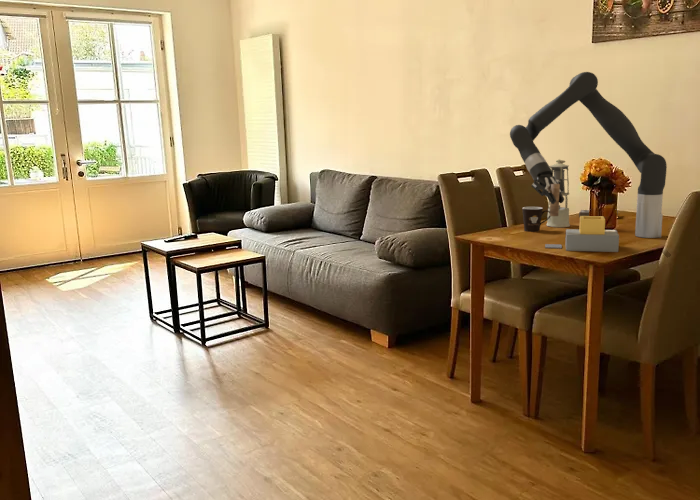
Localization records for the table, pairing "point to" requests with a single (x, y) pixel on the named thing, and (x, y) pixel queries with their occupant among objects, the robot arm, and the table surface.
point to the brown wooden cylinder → (555, 207)
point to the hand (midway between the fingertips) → (558, 201)
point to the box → (586, 213)
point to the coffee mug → (533, 218)
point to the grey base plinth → (592, 236)
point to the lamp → (563, 215)
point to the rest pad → (553, 246)
